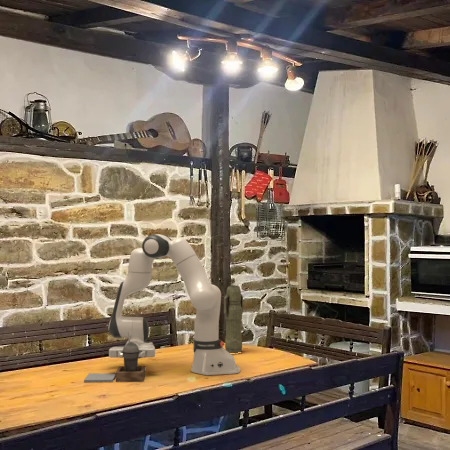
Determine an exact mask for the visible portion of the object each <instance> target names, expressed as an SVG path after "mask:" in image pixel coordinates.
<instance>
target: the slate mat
mask: <svg viewBox="0 0 450 450" xmlns="http://www.w3.org/2000/svg"><path fill="white" fill-rule="evenodd" d="M113 380H114V381H115V380H116V372H99V373H97V372H95V373H93V372H92V373H91V372H90V373H88V374H87V375H86V377H85V378H84V380H83V383H113V382H114V381H113Z"/></svg>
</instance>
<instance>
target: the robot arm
mask: <svg viewBox="0 0 450 450" xmlns="http://www.w3.org/2000/svg"><path fill="white" fill-rule="evenodd" d="M166 257H168V258H170V259H171V260H172V263H173V265H174V267H175V268H176V270H177V272H178V273H179V275H180V277H181V279H182V281H183V283H184V286H185V289H186V291H187V294H188V296H189V299H190V303H191V305H192V307H193V308H194V309H195V310H196V312H195V313H196V314H195V319H194V326H193V328H194V331H193V332H194V333H193V336H194V339H193V343H192V351H193V359H192V365H191V368H190V371H191V372H192V373H195V374H200V375H204V376H216V375H217V376H219V375H229V374H230V375H233V374H239V373H241V368H240V366H239V365H236V360H235V357H234V354H230V353H229V352H228V351H226V349H225V341H223V340H221V339H220V338H219V335H220V334H219V329H220V326H219V323H220V322H219V321H220V315H221V303H222V292H221V290H220V288H219V287H218V286H217V285H215V284H211V283H210V282H209V279H208V276H207V274H206V270H205V267H204V265H203V263H202V262H201V260H200V259H199V257H198V255H197V253H196V252H195V250H194V248H193V247H192V246H191V244H190V243H189V242H188V241H187V239H186V238H184V237H176V238H174V239H171V238H170V236H168V235H165V234H159V233H155V234H150V235H148V236H146V237H145V238H144V239H143V241H142V245H141V247H136V248H135V249H133V250H132V251H131V253H130V255H129V259H128V265H127V266H128V267H127V274H126V277H125V279H124V281H122V282H120V283H119V286H118V290H117V293H116V297H115V302H114V307H113V310H112V315H111V318H110V320H109V323H108V327H107V329H108V333H109V334H110V335H111V336H112V337H113V338H114V339H117V338H118V339H119V338H128V332H129V338H130V342H133V343H135V344H136V345H137V346H138V348H139V356H138V360H139V359H143V358H155V357H156V347H155V345H154V343H153V342H151V341H147V340H148V338H149V334H150V324H149V321H148V320H147V318H145V317H142V316H124V315H122V311H123V308H124V305H125V304H124V303H125V300H126V298H128V296H130V295H131V294H132V295H133V294H134V293H138V292H140V291H144V290H145V289H146V288H148V286H149V285H150V284H151V281H152V272H153V262H154V261H155V260H158V259H162V258H166ZM127 343H129V339H128V340H127V341H126V343H125V345H126V344H127ZM123 348H124V346H113V347H110V348H109V349H108V356H109V358H123V359H124V357H123V353H122V352H123Z"/></svg>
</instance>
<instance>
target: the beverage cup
mask: <svg viewBox="0 0 450 450" xmlns="http://www.w3.org/2000/svg"><path fill="white" fill-rule="evenodd" d="M127 339H128V340H129V343H127V342H126V343H127V344H126V343H125V345H124V346H123V347H124V348H123V352H122V353H123V364H124V365H123V366H124V368H125V372H137V366H138V365H139V364H138V361H139V359H138V356H139V348H138V346H137V345H136V344H135V343H133V342H130V338H129V332H128V337H127Z"/></svg>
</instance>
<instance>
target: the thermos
mask: <svg viewBox="0 0 450 450" xmlns="http://www.w3.org/2000/svg"><path fill="white" fill-rule="evenodd" d="M225 292H226V294H225V295H224V298H223V314H224V317H225V318H224V319H225V340H224V349H225V350H226V351H228V352H229V353H238V352H241V351H242V349H243V338H242V321H243V314H244V295H243V293H242V291H241V288H240V286H238V285H228V286H227V288H226V291H225ZM242 352H243V351H242Z"/></svg>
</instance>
